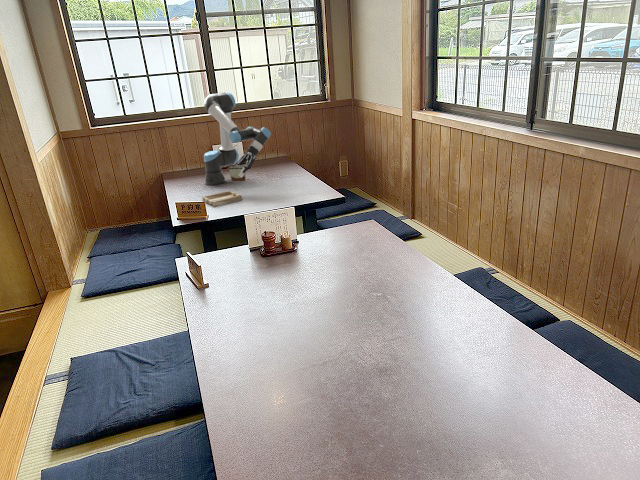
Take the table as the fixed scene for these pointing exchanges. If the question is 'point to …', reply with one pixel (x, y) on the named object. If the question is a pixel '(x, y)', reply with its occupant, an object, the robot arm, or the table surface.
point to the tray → (222, 198)
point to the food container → (236, 173)
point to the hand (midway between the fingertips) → (236, 175)
